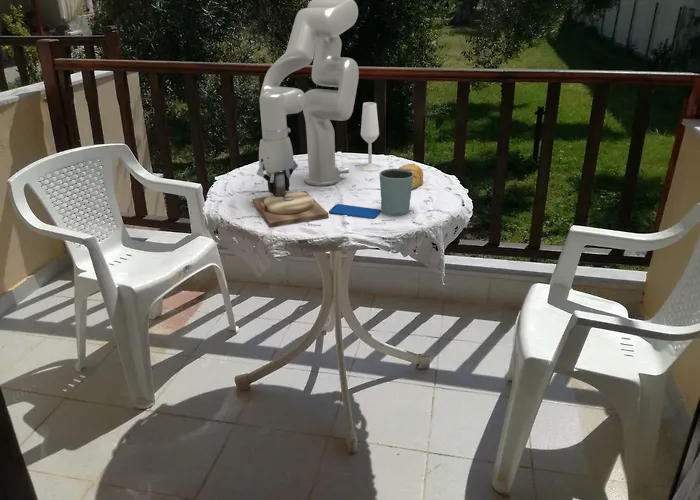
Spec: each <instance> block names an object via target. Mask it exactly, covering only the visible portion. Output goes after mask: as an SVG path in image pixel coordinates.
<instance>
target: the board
mask: <svg viewBox="0 0 700 500" xmlns="http://www.w3.org/2000/svg"><path fill="white" fill-rule="evenodd" d="M301 192H304V193H307V194H309V192H308V191H306V190H304V191H301ZM266 197H267V196H263V197H256V198H252V201H251V202H252V205H254V207H255V209H256V210H257V211H258V213H259V214H260V215H261V217H262V219H263V220H264V221H265V222H266V224H267V225H268V226H269V228H276V227H282V226H289V225H294V224H300V223H306V222H314V221H318V220H323V219H329V216H330V215H329V211H327V210H325V208H324V207H323V206H322V205H321V204H320V203H319V202H318V201H316V200H315V198H313V206H312V207H311V208H310V209H308V210H306V211H303V212H299V213H293V214H278V213H273V212H270V211H268V210H266V209H265V205H264V200H265V198H266Z"/></svg>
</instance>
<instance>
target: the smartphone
mask: <svg viewBox="0 0 700 500" xmlns="http://www.w3.org/2000/svg"><path fill="white" fill-rule="evenodd" d="M381 212H382V210H381V208H380V209H379V208H378V209H377V208H371V207H363V206H359V205H358V206H357V205H349V204H341V203H337V204H334V206H333V207H331V208H330V209H329V210H328V215H329V214H330V215H335V216H342V215H347V216H346V217H350V216H352V218H359V219H368V220H369V219H370V220H375V219H376V218H377V217H378V216H379V215H380V214H381Z"/></svg>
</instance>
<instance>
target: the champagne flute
mask: <svg viewBox="0 0 700 500" xmlns="http://www.w3.org/2000/svg"><path fill="white" fill-rule="evenodd" d="M378 118H379V117H378V108H377V103H376V102H374V101H373V102H371V101H368V102H363V104H362V113H361V125H360V127H361V128H360V136H361V138H362V139H363V140H364V141H365V142H366V143H367V144H368V147H367V149H368V150H367V151H368V156H367V157H368V163H367V164H365V165H364V166H362V167H361V168H360V169H361V170H362V171H365V172H375V171H378V170H379V169H380V168H379V166H377V165H375V164H374V163H372V159H373V158H372V154H373V152H372V147H373V146H372V143H374V142H375V141H376V140H377V139H378V137H379V136H380V128H379V120H378Z"/></svg>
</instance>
